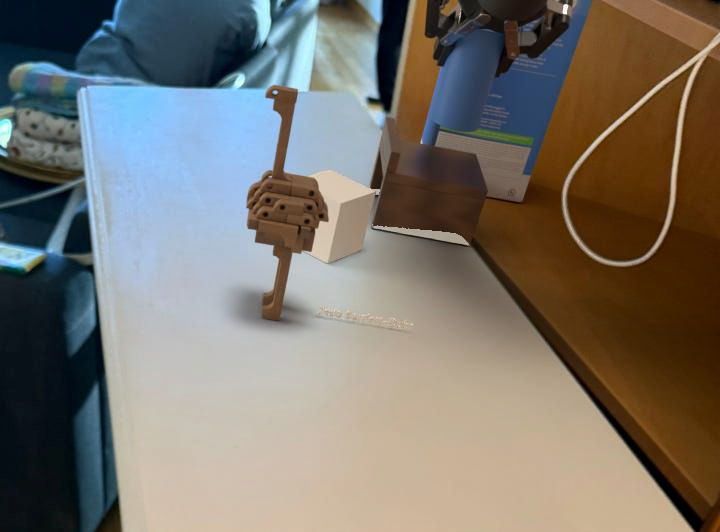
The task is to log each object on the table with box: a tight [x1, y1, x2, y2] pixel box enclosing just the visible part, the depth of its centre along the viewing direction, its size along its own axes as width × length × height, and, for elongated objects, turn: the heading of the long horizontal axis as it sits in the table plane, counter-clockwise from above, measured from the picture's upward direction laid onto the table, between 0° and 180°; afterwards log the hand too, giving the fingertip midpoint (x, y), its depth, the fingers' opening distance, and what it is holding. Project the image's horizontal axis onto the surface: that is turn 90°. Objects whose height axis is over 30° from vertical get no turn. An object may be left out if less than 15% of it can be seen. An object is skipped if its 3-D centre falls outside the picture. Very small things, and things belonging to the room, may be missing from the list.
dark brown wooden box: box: [369, 116, 488, 245], centre depth 103 cm, size 11×11×8 cm
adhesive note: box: [302, 169, 376, 264], centre depth 94 cm, size 6×6×6 cm
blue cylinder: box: [430, 29, 505, 132], centre depth 95 cm, size 5×5×9 cm
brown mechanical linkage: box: [245, 84, 415, 331], centre depth 79 cm, size 17×7×18 cm, turn 88°
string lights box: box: [420, 0, 594, 203], centre depth 106 cm, size 13×8×26 cm, turn 86°
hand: (468, 62), depth 96 cm, fingers closed on blue cylinder, 5 cm apart
